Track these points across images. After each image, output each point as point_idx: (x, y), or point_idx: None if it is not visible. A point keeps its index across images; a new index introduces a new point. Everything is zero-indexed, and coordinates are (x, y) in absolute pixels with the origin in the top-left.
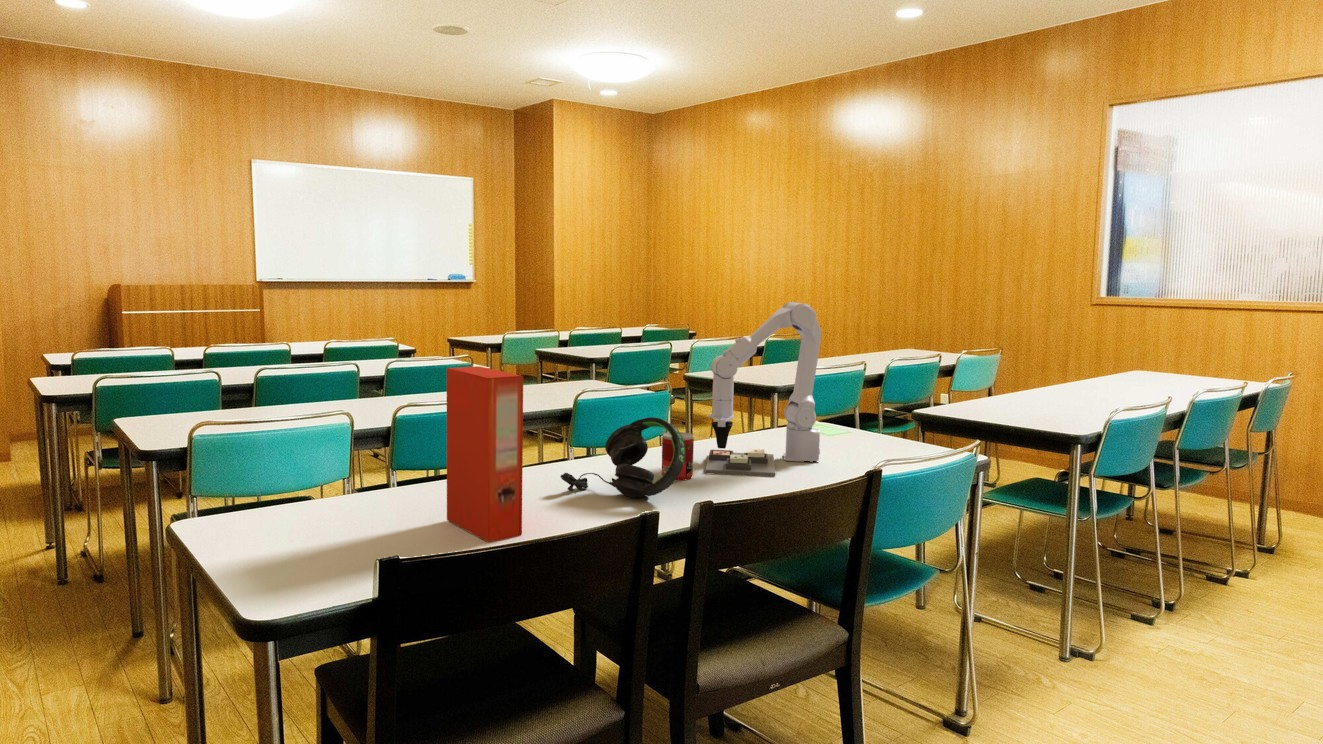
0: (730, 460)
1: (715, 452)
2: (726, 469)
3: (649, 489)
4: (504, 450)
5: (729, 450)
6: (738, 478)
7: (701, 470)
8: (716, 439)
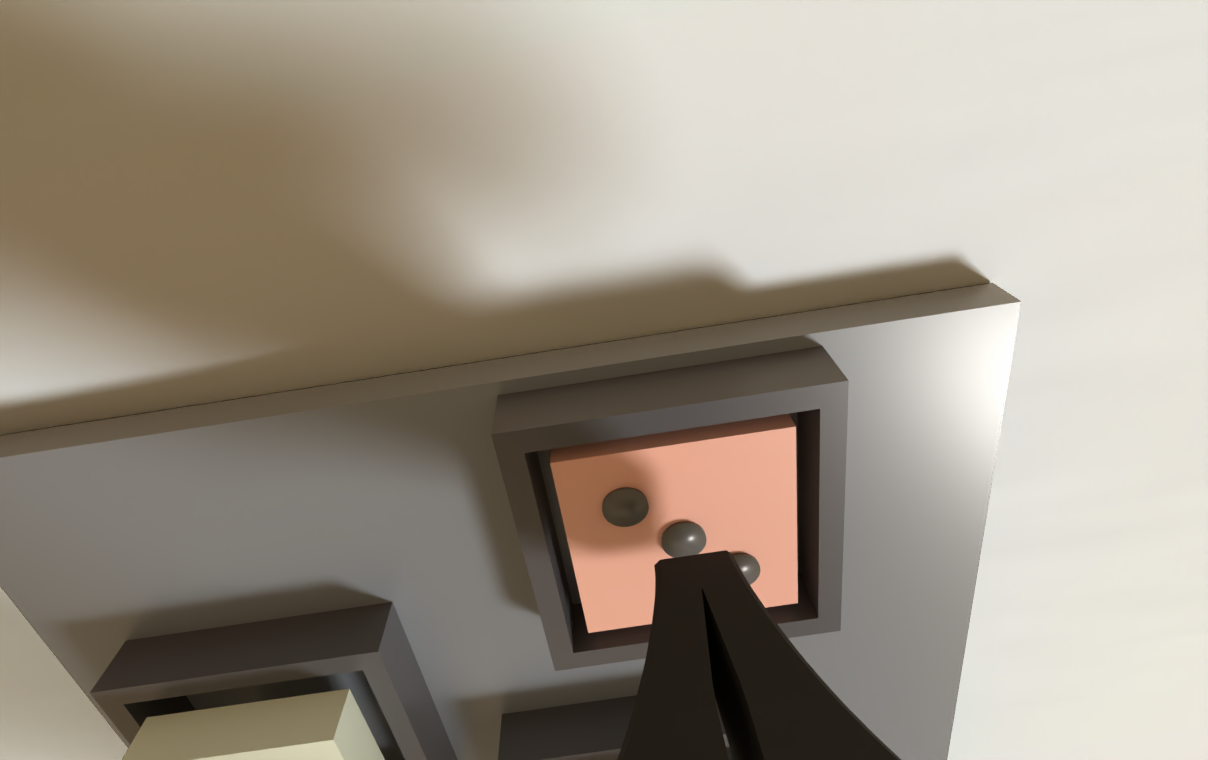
0: (134, 747)
1: (697, 470)
2: (108, 645)
3: None
4: None
5: (839, 597)
6: (17, 719)
7: (69, 367)
8: (648, 665)
